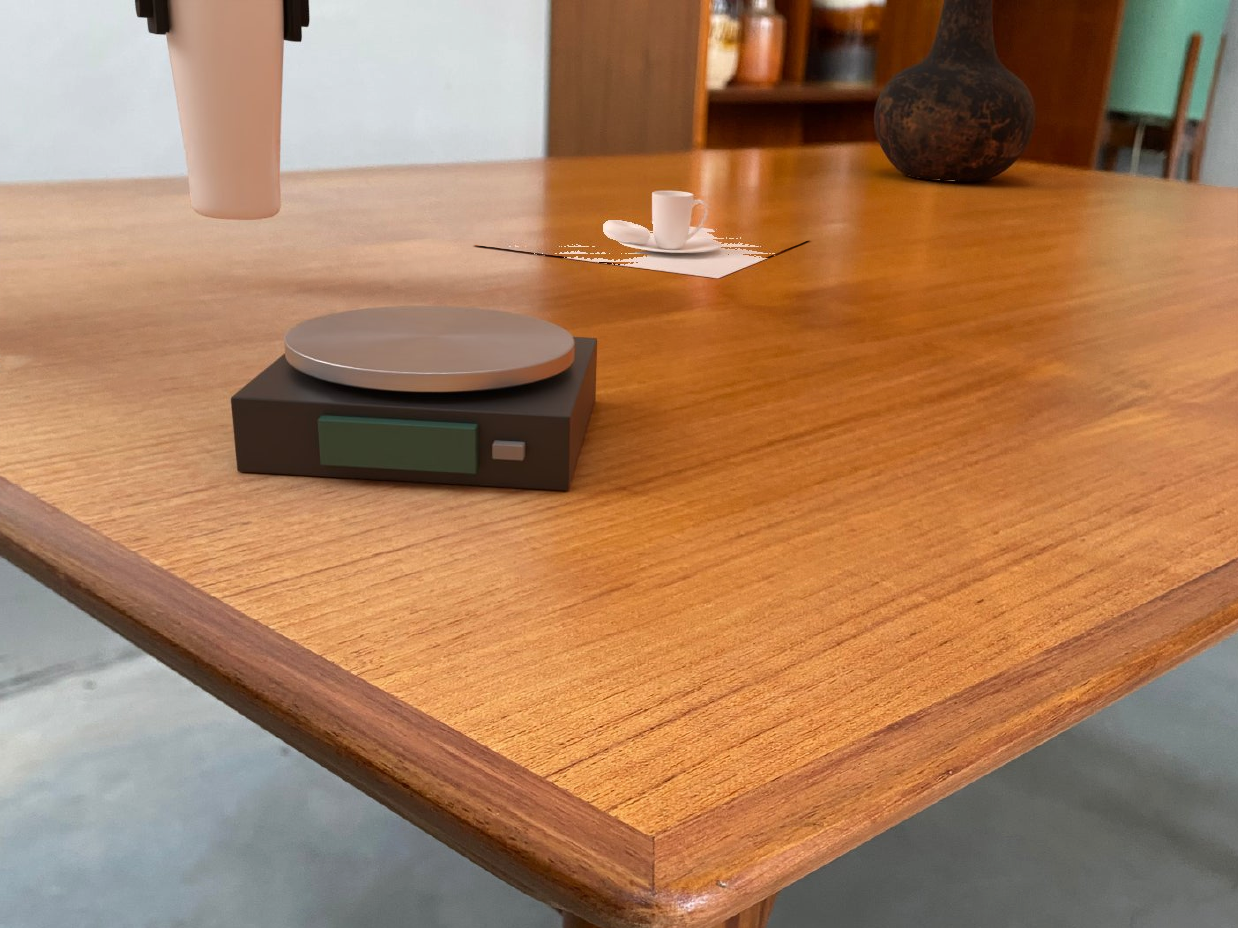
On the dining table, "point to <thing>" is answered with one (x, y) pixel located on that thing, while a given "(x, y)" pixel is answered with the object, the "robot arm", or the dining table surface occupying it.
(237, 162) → the drinking glass
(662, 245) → the teacup and saucer
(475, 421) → the scale
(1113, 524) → the dining table surface
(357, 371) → the scale pan
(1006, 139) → the rusty bud vase
